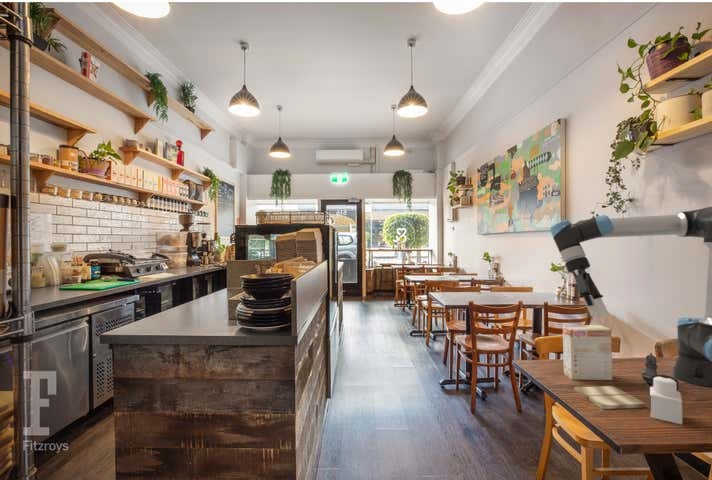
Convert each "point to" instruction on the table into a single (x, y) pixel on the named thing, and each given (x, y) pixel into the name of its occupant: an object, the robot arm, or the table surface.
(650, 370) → the grey chess piece
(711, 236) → the robot arm
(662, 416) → the medicine bottle
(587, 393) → the maple board
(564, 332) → the coffeecake box
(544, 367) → the table surface
